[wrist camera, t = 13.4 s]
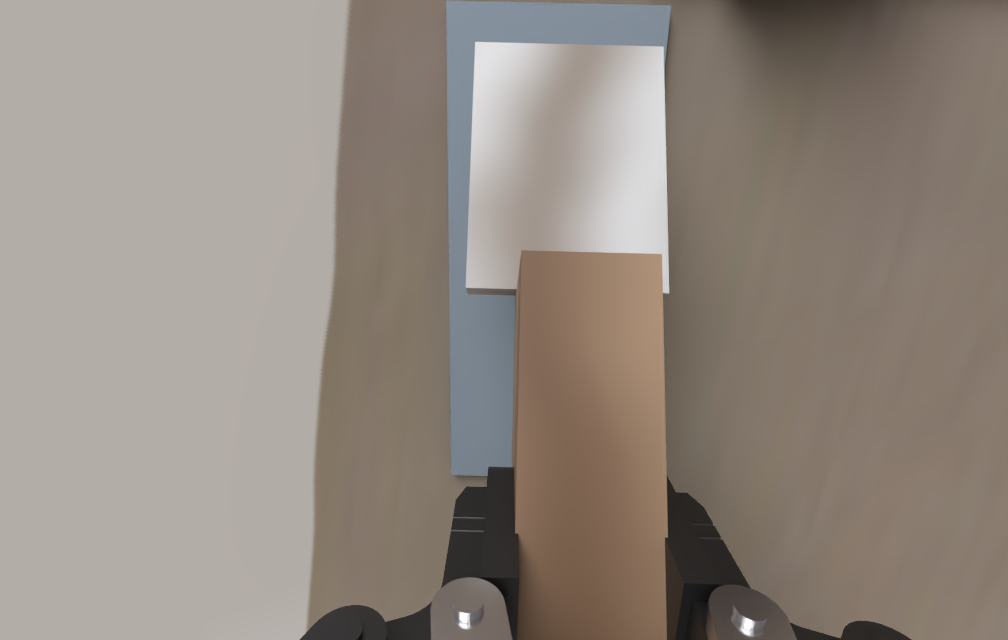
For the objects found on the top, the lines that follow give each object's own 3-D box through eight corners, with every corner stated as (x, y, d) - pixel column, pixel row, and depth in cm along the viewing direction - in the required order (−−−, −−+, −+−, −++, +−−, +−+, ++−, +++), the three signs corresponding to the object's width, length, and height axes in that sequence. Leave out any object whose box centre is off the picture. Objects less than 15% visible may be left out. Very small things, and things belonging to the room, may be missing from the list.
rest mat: (666, 10, 20) (671, 5, 20) (618, 472, 26) (620, 479, 26) (448, 5, 20) (446, 0, 20) (452, 468, 26) (451, 474, 26)
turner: (653, 67, 17) (718, -72, 12) (665, 682, 14) (757, 845, 9) (476, 62, 17) (465, -78, 12) (453, 676, 14) (425, 836, 9)
